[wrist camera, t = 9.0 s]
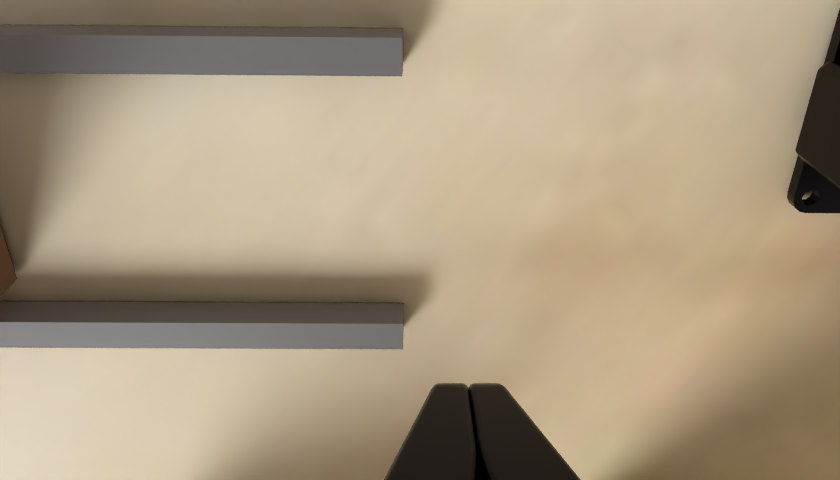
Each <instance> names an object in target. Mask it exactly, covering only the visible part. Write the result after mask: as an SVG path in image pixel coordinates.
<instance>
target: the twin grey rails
mask: <svg viewBox="0 0 840 480" xmlns="http://www.w3.org/2000/svg"><path fill="white" fill-rule="evenodd" d="M402 72H403V28H313V27H200V26H87V25H0V73H72V74H195V75H317V76H402ZM0 347H17V348H253V349H403V303H264V302H60V301H0Z"/></svg>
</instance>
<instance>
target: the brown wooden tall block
mask: <svg viewBox="0 0 840 480" xmlns="http://www.w3.org/2000/svg"><path fill="white" fill-rule="evenodd" d="M16 279H17V278H16V275H15V271H14V268H13V265H12V262H11V258H10V255H9V252H8V249H7V245H6V242H5V239H4V236H3V232H2V229H1V226H0V296H1V295H2V294H3V293H4V292H5V291H6V290H7V289H8V288H9V287H10V285H11V284H12V283H13V282H14V281H15V280H16Z"/></svg>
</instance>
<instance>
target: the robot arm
mask: <svg viewBox="0 0 840 480" xmlns="http://www.w3.org/2000/svg"><path fill="white" fill-rule="evenodd" d="M796 152H797V154H798V158H797V161H796V165H795V168H794V172H793V175H792V179H791V182H790V186H789V189H788V195H787V198H788V201H789V203H790V204H791V205H792V206H794V207H795V208H796V209H797V210H799V211H800V212H804V213H840V10H839V13H838V17H837V20H836V24H835V27H834V31H833V34H832V38H831V41H830V45H829V48H828V52H827V56H826V59H825V63H824V65H823V66H822V67H821V68H820V69H819V70H818V72H817V75H816V79H815V83H814V86H813V90H812V93H811V97H810V100H809V104H808V107H807V111H806V115H805V118H804V122H803V125H802V129H801V132H800V136H799V139H798V143H797V147H796ZM810 190H812V194H811V196H810V197H808V198H807V199H804V200H802V197H803V195H804V194H805V193H806V192H807V191H810ZM384 480H580V479H579V477H578V476H577V475H576V474H575V472H574V471H573V470H572V469H571V468H570V466H569V465H568V464H567V463H566V461H565V460H564V459H563V458H562V457H561V455H560V454H559V453H558V452H557V450H556V449H555V448H554V447H553V446H552V444H551V443H550V442H549V441H548V439H547V438H546V437H545V436H544V435H543V433H542V432H541V431H540V430H539V428H538V427H537V426H536V425H535V424H534V422H533V421H532V420H531V419H530V417H529V416H528V415H527V414H526V412H525V411H524V410H523V409H522V408H521V406H520V405H519V404H518V403H517V401H516V400H515V399H514V398H513V397H512V395H511V394H510V393H509V392H508V390H507V389H506V388H505V387H504V386H503V385H501V384H497V383H474V384H472V385H470V387H469V389H468V387H467V386H466V385H465V384H462V383H439V384H436V385H434V387H433V388H432V389H431V391H430V393H429V395H428V397H427V399H426V401H425V403H424V405H423V407H422V408H421V410H420V412H419V414H418V416H417V418H416V420H415V422H414V424H413V426H412V428H411V429H410V431H409V433H408V435H407V437H406V439H405V441H404V443H403V445H402V447H401V449H400V450H399V452H398V454H397V456H396V458H395V460H394V462H393V464H392V466H391V468H390V470H389V471H388V473H387V475H386V477H385V479H384Z"/></svg>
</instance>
